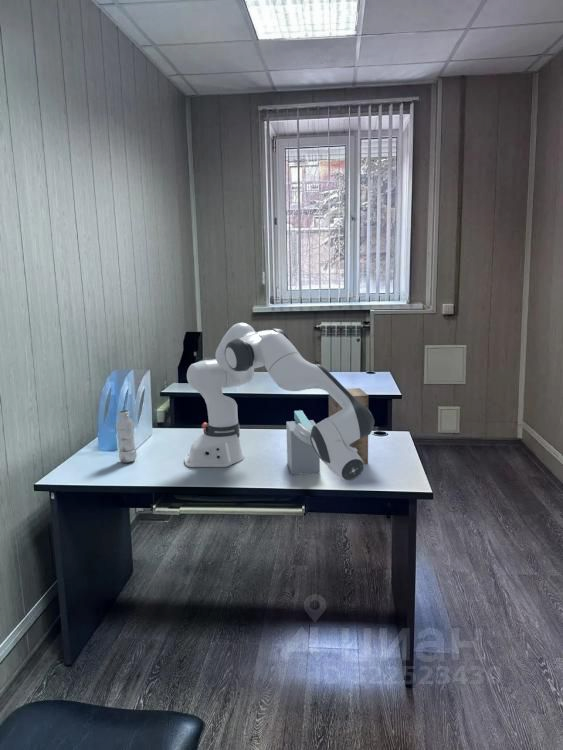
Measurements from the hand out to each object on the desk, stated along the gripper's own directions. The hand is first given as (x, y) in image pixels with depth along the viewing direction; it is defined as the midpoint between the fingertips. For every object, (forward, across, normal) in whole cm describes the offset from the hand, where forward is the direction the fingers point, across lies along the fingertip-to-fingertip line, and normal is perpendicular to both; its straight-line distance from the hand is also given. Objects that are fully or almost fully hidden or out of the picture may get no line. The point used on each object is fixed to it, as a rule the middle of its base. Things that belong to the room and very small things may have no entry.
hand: (314, 433), depth 177 cm
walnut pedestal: (+18, +28, -7) cm, 34 cm away
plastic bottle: (+47, -40, -48) cm, 78 cm away
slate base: (+16, +12, -16) cm, 26 cm away
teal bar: (+14, +3, -2) cm, 15 cm away
